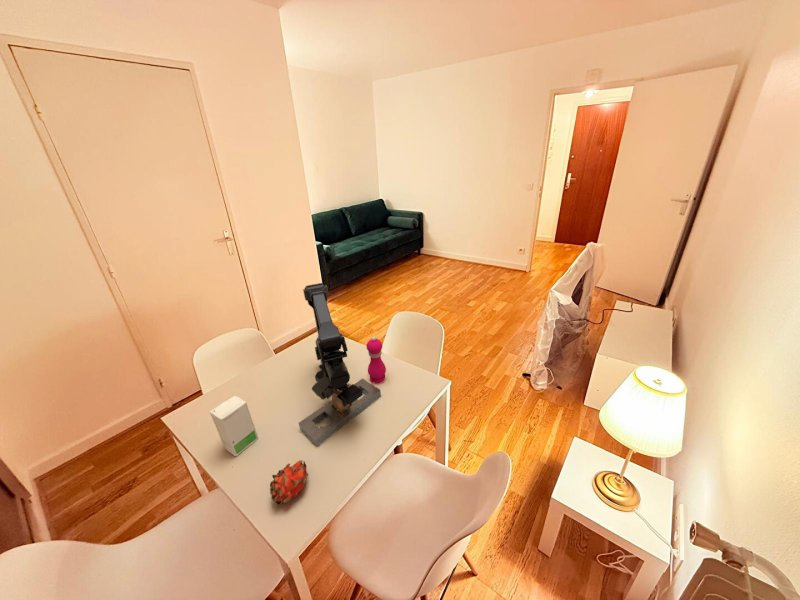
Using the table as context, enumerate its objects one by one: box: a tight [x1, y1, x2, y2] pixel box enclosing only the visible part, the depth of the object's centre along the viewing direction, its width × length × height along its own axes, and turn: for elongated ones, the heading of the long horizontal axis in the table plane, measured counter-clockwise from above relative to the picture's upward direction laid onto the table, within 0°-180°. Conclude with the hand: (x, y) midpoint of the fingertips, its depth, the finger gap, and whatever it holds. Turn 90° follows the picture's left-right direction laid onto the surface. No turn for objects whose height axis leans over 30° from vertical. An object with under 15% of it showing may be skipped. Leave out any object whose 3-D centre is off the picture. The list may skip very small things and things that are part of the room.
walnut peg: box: [331, 389, 350, 414], centre depth 102 cm, size 4×4×8 cm
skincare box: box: [209, 395, 259, 457], centre depth 92 cm, size 8×7×16 cm
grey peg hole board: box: [298, 378, 382, 447], centre depth 105 cm, size 10×28×3 cm, turn 138°
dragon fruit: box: [269, 459, 309, 506], centre depth 80 cm, size 8×8×12 cm
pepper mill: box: [366, 336, 387, 385], centre depth 116 cm, size 7×7×20 cm
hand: (341, 402), depth 103 cm, fingers closed on walnut peg, 4 cm apart
